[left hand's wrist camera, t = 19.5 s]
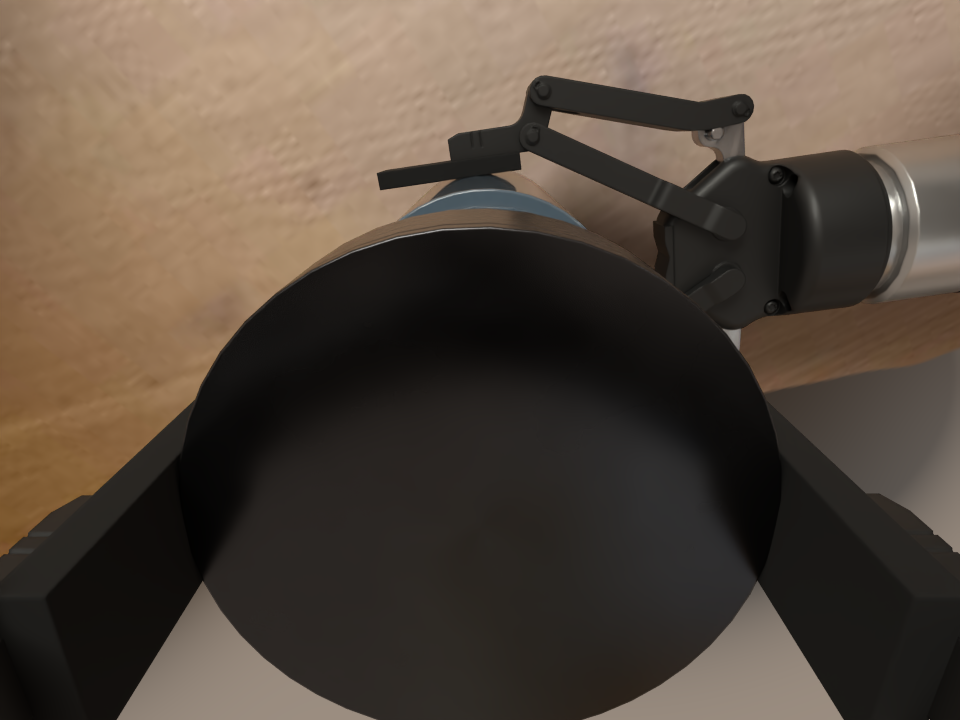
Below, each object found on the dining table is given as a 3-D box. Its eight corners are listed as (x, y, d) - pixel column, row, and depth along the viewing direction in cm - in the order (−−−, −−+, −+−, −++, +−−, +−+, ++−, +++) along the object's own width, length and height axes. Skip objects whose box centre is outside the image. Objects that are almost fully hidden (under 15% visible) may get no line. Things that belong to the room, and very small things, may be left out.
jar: (595, 286, 37) (685, 407, 20) (454, 358, 38) (432, 521, 22) (522, 134, 33) (559, 130, 17) (372, 219, 35) (275, 290, 19)
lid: (123, 369, 12) (44, 421, 10) (605, 93, 10) (639, 83, 8) (397, 702, 15) (384, 795, 13) (796, 542, 13) (855, 620, 11)
